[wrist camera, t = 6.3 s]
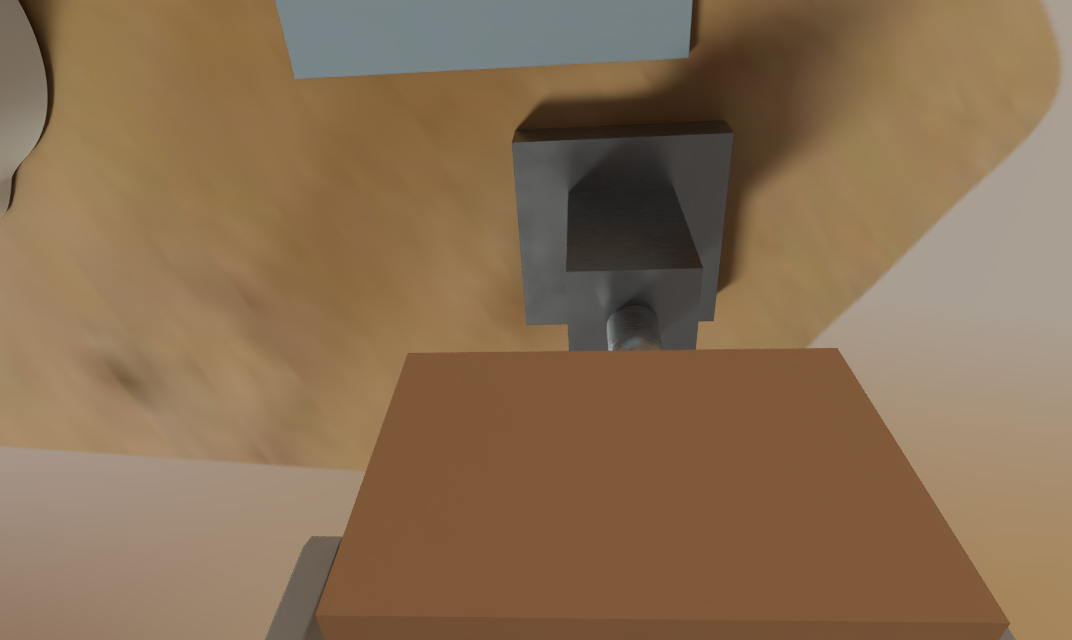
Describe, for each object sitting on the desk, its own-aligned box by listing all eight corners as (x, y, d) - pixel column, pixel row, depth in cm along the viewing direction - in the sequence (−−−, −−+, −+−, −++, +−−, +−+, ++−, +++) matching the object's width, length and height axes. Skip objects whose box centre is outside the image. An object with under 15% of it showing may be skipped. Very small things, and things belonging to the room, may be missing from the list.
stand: (528, 305, 36) (504, 506, 24) (515, 130, 31) (475, 272, 18) (706, 301, 35) (776, 506, 23) (725, 120, 30) (829, 262, 18)
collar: (454, 602, 12) (413, 862, 9) (408, 352, 9) (315, 615, 6) (768, 605, 12) (847, 877, 9) (837, 348, 9) (1010, 623, 5)
